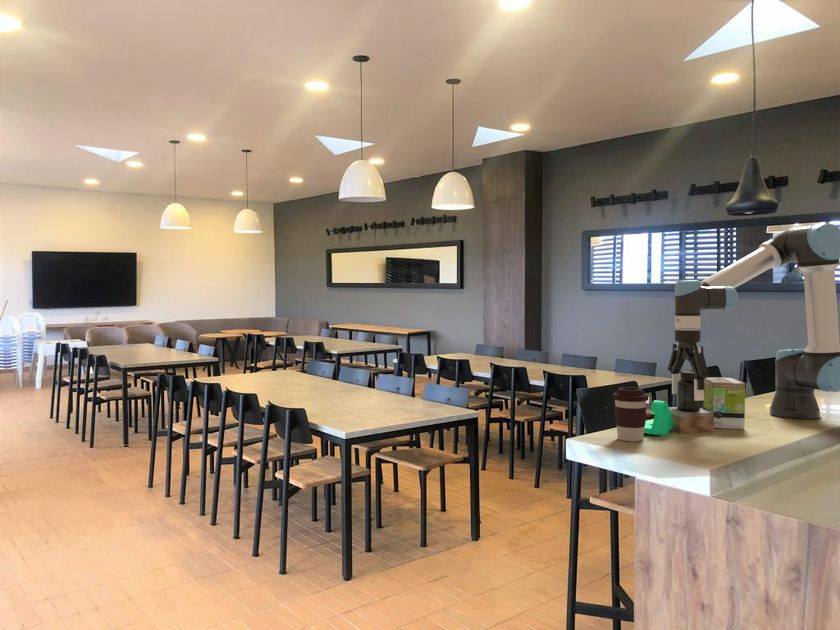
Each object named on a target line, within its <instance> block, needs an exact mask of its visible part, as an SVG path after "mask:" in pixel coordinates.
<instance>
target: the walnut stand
mask: <svg viewBox="0 0 840 630" xmlns="http://www.w3.org/2000/svg"><path fill="white" fill-rule="evenodd" d="M669 410H670V413H671V417H672V420H673V423H674V429H671V431H674V432H676V433H678V434H693V433H694V434H696V433H699V434H700V433H714V431H715V428H714V412H710V411H707V410H704V409H702V407H700V410H699V411H696V412H687V411H680V410H678V409H677V406H672V407H671V406H669Z"/></svg>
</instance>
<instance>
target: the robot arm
mask: <svg viewBox="0 0 840 630" xmlns="http://www.w3.org/2000/svg"><path fill="white" fill-rule="evenodd" d="M792 263H797V268H798V269H799V271H801V272H803V284H804V285H803V286H804V296H805V297H804V299H805V301H804V302H805V313H806V315H805V316H806V327H807V346H806V347H805V348H794V349H792V348H791V349H789V348H788V349H779V350H777V352H776V354H775V361H774V362H775V363H774V364H775V366H774V367H775V392H774V395H773V398H772V401H771V403H770V407H769V415H772V416H775V417H780V418H785V419H798V420H812V419H819V418H820V417H821V410H820V408H819V404H818V401H817V399H816V395H815V390H817V391H818V390H819V391H822V392H828V393H829V392H833V393H840V332H839V319H838V305H837V300H838V299H837V289H836V287H837V286H836V276H835V275H836V269H837V268H838V267H839V266H840V227H839V226H838V225H836V224H833V223H815V224H810V225H804V226H796V227H791V228H788V229H786V230H783V231H782V232H781V233H779V234H776V235H775V236H773V237H772V238H769V239H768V240H766V241H763V242H762V243H761V244H760V245H758V248H757V249H756V250H755V251H753V252H750V253H749V254H747V255H746V256H744V257H742V258H740V259H738V260H736V261H735V262H733V263H731V264H730V265H728V266H726V267H723V268H722V269H720V270H719V271H717V272H715V273H713V274H712V275H710V276H708V277H706V278H704V279H702V280H701V281H700V280H698V279H697V280H694V279H693V280H692V279H691V280H689V279H688V280H686V279H685V280H683V279H682V280H677V281H676V282H675V284H674V294H673V295H674V328H675V329H676V330H675V331H674V342H675V343H672V351H671V355H670V359H669V363H668V367H667V371H668V372H670V374H671V395H677V382H678V381H679V380H681V378H680V372H682V371H681V370H682V368H683V367H684V363H685V362H686V360H687V361H688V362H689V364H690V366H691V369H692V372H694V374H695V378H694V400H695V401H700V402H702V400H704V379H705V378H708V377H710V374H709V371H708V367H707V363H706V358H705V355H704V347H703V346H702V345H699V346H697V344H698V343H699V342H701V330H700V329H701V320H702V319H701V318H702V317H701V313H702V311H727V310H728V311H729V310H733V309H735V307H736V306H737V304H738V302H739V295H738V292H737V290H736V289H735V288H738V287H739V286H741V285H743V284H745V283H747V282H748V281H751V280H753V278H756V277H757V276H759V275H761V274H762V273H764V272H766V271H769V270H770V269H777V268H780V267H781V266H783V265H787V264H792Z"/></svg>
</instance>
